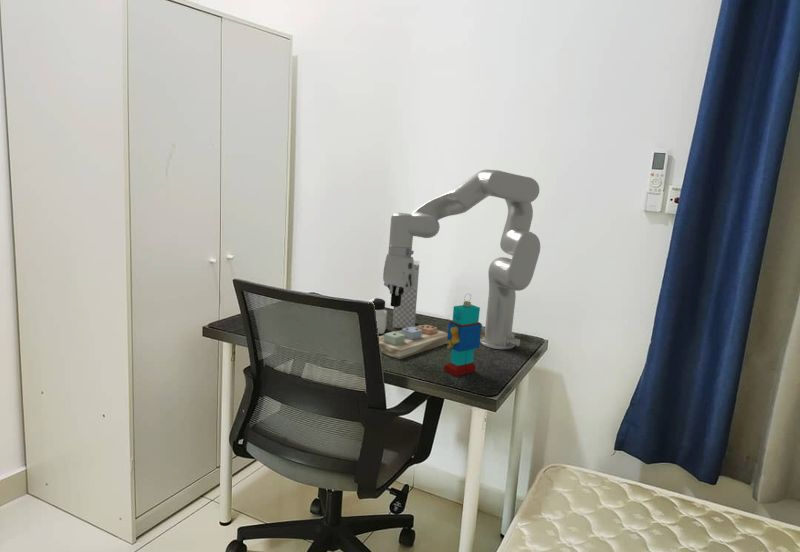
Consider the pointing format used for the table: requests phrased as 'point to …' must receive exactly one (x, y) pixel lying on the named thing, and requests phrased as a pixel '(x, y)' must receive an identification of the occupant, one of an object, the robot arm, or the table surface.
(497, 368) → the table surface
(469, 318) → the toy robot
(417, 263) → the box
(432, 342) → the wooden puzzle board
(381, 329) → the medicine bottle
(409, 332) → the button two
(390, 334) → the button one
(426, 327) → the button three
